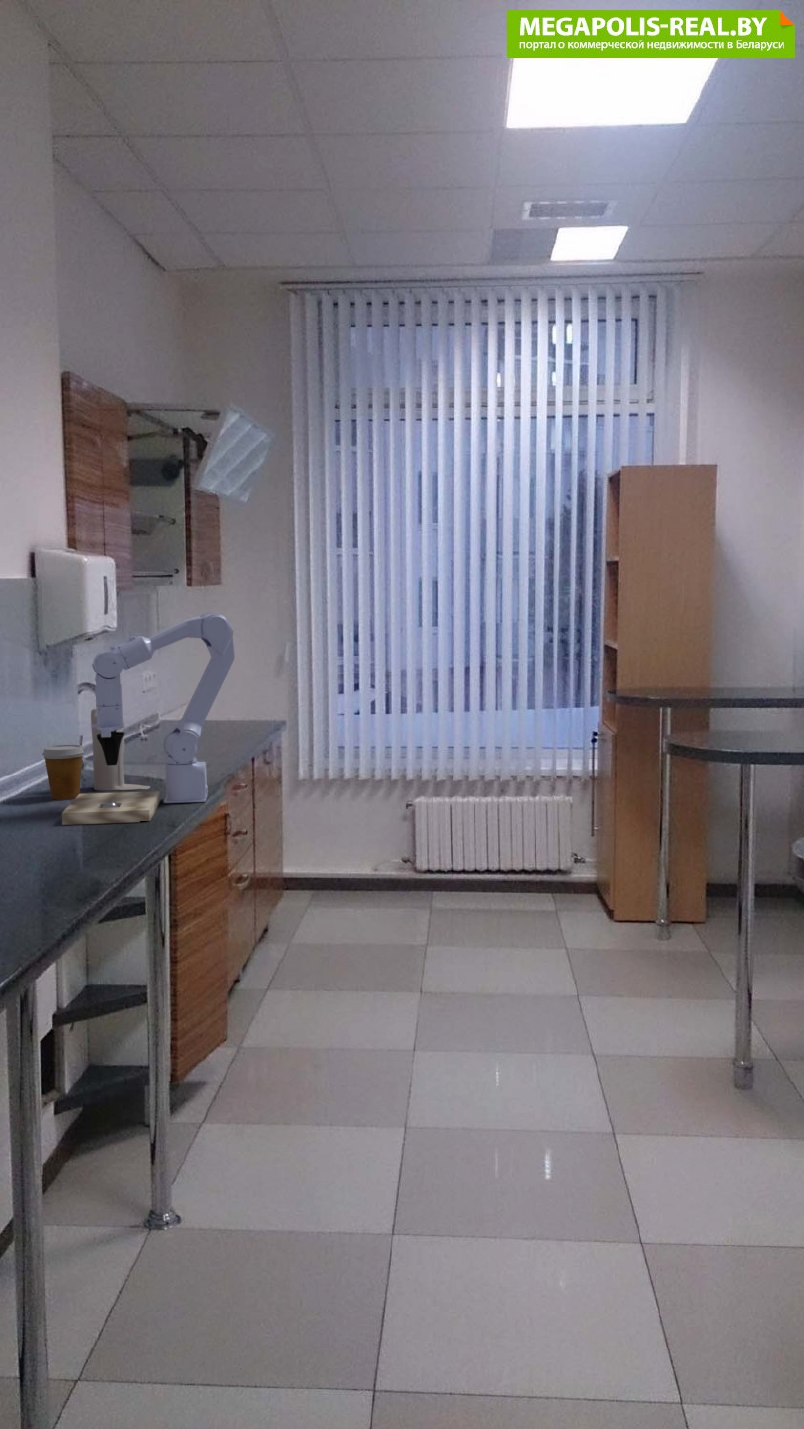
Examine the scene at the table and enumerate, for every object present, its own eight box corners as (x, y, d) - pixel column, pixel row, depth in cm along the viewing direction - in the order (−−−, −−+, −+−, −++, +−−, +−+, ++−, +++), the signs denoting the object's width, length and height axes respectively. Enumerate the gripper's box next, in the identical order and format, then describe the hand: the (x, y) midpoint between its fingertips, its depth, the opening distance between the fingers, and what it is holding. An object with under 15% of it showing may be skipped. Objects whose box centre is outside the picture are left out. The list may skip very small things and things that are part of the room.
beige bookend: (147, 790, 277) (143, 708, 274) (90, 791, 277) (86, 709, 275) (154, 785, 284) (151, 705, 282) (99, 785, 284) (95, 706, 282)
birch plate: (160, 801, 262) (159, 791, 262) (149, 821, 240) (149, 809, 240) (80, 804, 260) (79, 793, 260) (62, 824, 238) (61, 813, 238)
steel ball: (120, 818, 245) (118, 811, 248) (118, 803, 244) (116, 797, 247) (104, 821, 244) (102, 814, 247) (102, 806, 242) (100, 800, 245)
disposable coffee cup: (92, 793, 274) (90, 744, 272) (77, 801, 264) (74, 750, 263) (54, 793, 275) (51, 744, 273) (37, 801, 265) (35, 750, 264)
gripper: (96, 702, 262) (98, 760, 264) (85, 709, 248) (88, 770, 249) (127, 701, 263) (129, 759, 264) (118, 708, 248) (121, 769, 250)
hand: (112, 764), depth 257 cm, fingers closed
